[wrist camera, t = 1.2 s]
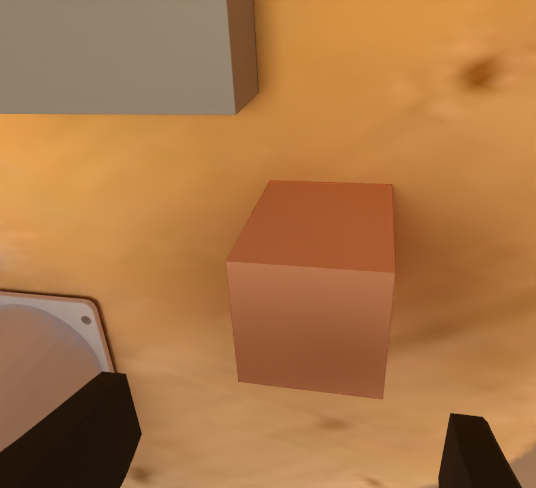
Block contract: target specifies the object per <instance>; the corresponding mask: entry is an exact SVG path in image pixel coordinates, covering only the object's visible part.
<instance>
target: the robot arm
mask: <svg viewBox="0 0 536 488" xmlns="http://www.w3.org/2000/svg"><path fill="white" fill-rule="evenodd" d="M86 316H87V317H89V318H90V319H89V318H87V317H86ZM141 435H142V433H141V429H140V426H139V422H138V418H137V414H136V411H135V407H134V403H133V399H132V396H131V392H130V388H129V384H128V381H127V377H126V374H121V373H114V369H113V365H112V362H111V358H110V354H109V351H108V347H107V343H106V340H105V336H104V332H103V329H102V325H101V321H100V318H99V314H98V311H97V308H96V306H95V304H94V303H93V302H91V301H90V300H87V299H78V298H67V297H56V296H46V295H35V294H24V293H13V292H2V291H0V488H120V487H121V485H122V483H123V481H124V479H125V477H126V474H127V472H128V469H129V467H130V464H131V462H132V459H133V457H134V454H135V451H136V448H137V446H138V443H139V440H140V437H141ZM438 480H439V488H522V487H521V485H520V483H519V482H518V480H517V478H516V476H515V474H514V473H513V471H512V469H511V467H510V465H509V464H508V462H507V460H506V458H505V456H504V454H503V452H502V450H501V449H500V447H499V445H498V443H497V441H496V439H495V437H494V435H493V433H492V431H491V429H490V426H489V424H488V422H487V421H486V420H485V419H484V418H483V417H478V416H470V415H462V414H453V413H450V418H449V423H448V429H447V434H446V439H445V445H444V450H443V456H442V461H441V466H440V472H439V477H438Z"/></svg>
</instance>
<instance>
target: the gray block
mask: <svg viewBox="0 0 536 488" xmlns="http://www.w3.org/2000/svg"><path fill="white" fill-rule="evenodd" d="M257 94H258V77H257V59H256V41H255V23H254V5H253V0H0V114H155V115H236V114H237V113H238V112H239V111H240V110H241V109H242V108H243V107H244V106H245V105H246V104H247V103H248V102H250V101H251V100H252V99H253V98H254V97H255V96H256V95H257Z"/></svg>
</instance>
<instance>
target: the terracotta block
mask: <svg viewBox="0 0 536 488" xmlns="http://www.w3.org/2000/svg"><path fill="white" fill-rule="evenodd" d="M226 269H227V278H228V287H229V297H230V306H231V316H232V325H233V335H234V344H235V353H236V363H237V372H238V382H245V383H253V384H261V385H270V386H278V387H286V388H294V389H302V390H310V391H318V392H327V393H335V394H343V395H351V396H359V397H367V398H375V399H383V394H384V384H385V373H386V363H387V353H388V342H389V332H390V322H391V311H392V301H393V290H394V280H395V255H394V227H393V199H392V184H364V183H334V182H304V181H274V180H270V181H269V183H268V185H267V187H266V189H265V190H264V192H263V194H262V196H261V198H260V200H259V201H258V203H257V205H256V207H255V209H254V211H253V212H252V214H251V216H250V218H249V220H248V221H247V223H246V225H245V227H244V229H243V231H242V232H241V234H240V236H239V238H238V240H237V242H236V243H235V245H234V247H233V249H232V251H231V253H230V254H229V256H228V258H227V260H226Z"/></svg>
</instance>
